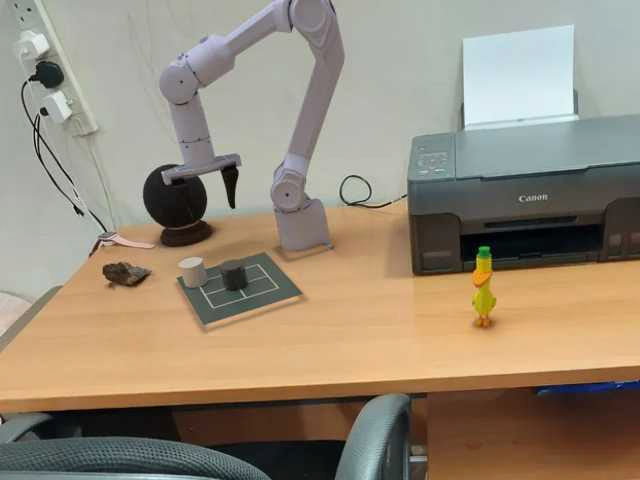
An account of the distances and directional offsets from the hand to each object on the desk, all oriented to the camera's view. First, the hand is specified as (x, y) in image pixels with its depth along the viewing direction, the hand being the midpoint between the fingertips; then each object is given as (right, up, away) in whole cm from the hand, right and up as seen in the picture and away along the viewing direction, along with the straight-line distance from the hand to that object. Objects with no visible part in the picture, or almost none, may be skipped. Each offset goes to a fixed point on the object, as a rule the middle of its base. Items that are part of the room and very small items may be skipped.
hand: (213, 212), depth 127 cm
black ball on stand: (-10, +1, +18) cm, 21 cm away
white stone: (-2, -14, -4) cm, 15 cm away
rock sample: (-17, -13, +3) cm, 21 cm away
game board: (+6, -16, -6) cm, 19 cm away
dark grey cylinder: (+6, -16, -7) cm, 18 cm away
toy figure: (+47, -26, -25) cm, 59 cm away
